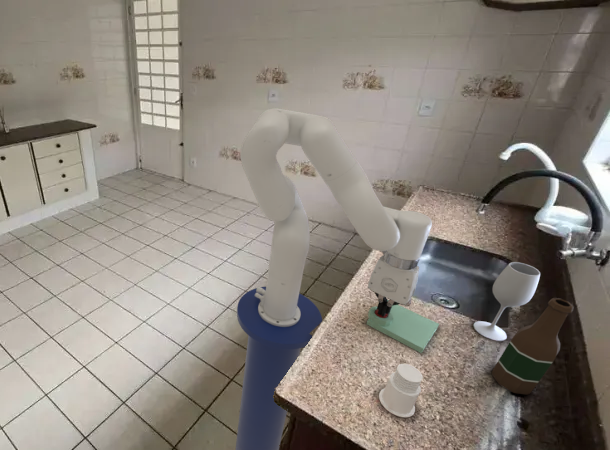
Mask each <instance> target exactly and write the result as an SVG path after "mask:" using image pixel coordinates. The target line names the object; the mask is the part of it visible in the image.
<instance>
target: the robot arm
mask: <svg viewBox="0 0 610 450" xmlns="http://www.w3.org/2000/svg"><path fill="white" fill-rule="evenodd" d="M285 144H287V145H292V146H298V147H301V150H302V152H303V153H304V154H305V156H306V158H307V159H308V161H309V162H310V163H311V165H312V166H313V168H314V169H315V170H316V172H317V173H318V175H319V176H320V177H321V179H322V180H323V182H324V183H325V185H326V186H327V187H328V189H329V190H330V192H331V194H332V196H333V198H334V199H335V200H336V202H337V203H338V205H339V206H340V208H341V209H342V211H343V212H344V214H345V216H346V217H347V219H348V220H349V222H350V223H351V225H352V227H353V228H354V229H355V231H356V233H357V234H358V235H359V237H360V238H361V239H362V241H363V242H364V243H365V245H367V246H368V247H369V248H371V249H372V250H374V251H378V252H381V253H382V254H383V255H381V256H380V257H379V258H378V259H377V261H376V263H375V265H374V267H373V270H372V271H371V275H370V277H369V280H368V283H367V289H368V290H370V291H371V292H373V293H374V294H375V296H376V298H377V301H378V304H377V306H378V307H377V309H378V313H377V314H378V315H381V316H382V317H384V316H385V315H386V314H389V313H390V311H391V308H392V306H394V305H400V306H403V307H410V306H411V305H412V298H413V296H414V294H415V292H416V288H417V284H418V281H419V274H420V267H419V266H418V265H419V261H420V259H421V256H422V254H423V251H424V248H425V246H426V243H427V240H428V237H429V235H430V232H431V230H432V226H433V219H432V218H431V217H430V216H428V215H427V214H425V213H423V212H419V211H416V210H415V211H414V210H400V209H395V208H391V207H387V206H384V205H383V204H382V202H381V200H380V199H379V198H378V196H377V193H376V192H375V190H374V187H373V186H372V183H371V180H370V179H369V177H368V174H367V173H366V171H365V169H364V168H363V167H362V165H361V164H360V162H359V161H358V160H357V158H356V156H355V155H354V154H353V152H352V150H351V149H350V148H349V146H348V145H347V143H346V142H345V140H344V139H343V136H342V135H341V134H340V132H339V131H338V129H337V127H336V125H335V123H334V121H333V120H332V119H331V118H329V117H328V116H327V117H326V116H324V115H319V114H315V113H309V112H302V111H296V110H291V109H285V108H277V107H272V108H268V109H265V110H264V111H262V112H261V113H260V114H259V116H258V117H257V119H256V120H255V122H254V124H253V125H252V127H251V129H250V130H249V131H248V133H247V134H246V136H245V137H244V140H243V141H242V143H241V148H240V154H239V155H240V156H239V157H240V162H241V167H242V169H243V171H244V173H245V177H246V178H247V181H248V183H249V186H250V188H251V190H252V193H253V195H254V198H255V199H256V202H257V204H258V207H259V209H260V211H261V214H262V215H263V216H264V217H266V219H268V220H270V221H272V222H273V223H274V224H273V231H272V238H271V247H270V255H269V260H268V261H269V262H268V271H267V278H266V286H265V287H266V291H265V290H264V289H263V288H261V287H262V286H257V287H256V288H257V289H256V292H258V293H256V294H255V297H257V298H259V299H260V300H261V302H260V303H259V306H258V312H259V315H260V316H261V318H262V319H263V320H265V321H266V322H268V323H270V324H272V325H275V326H279V327H289V326H292V325H295V324H296V323H297V322H298V321H299V319H300V315H301V313H300V309H299V308H298V306H297V302H298V297H299V293H300V291H301V286H302V281H303V277H304V270H305V265H306V261H307V257H308V254H309V250H310V245H311V233H310V232H311V230H310V222H309V217H308V214H307V211H306V208H305V206H304V204H303V201H302V199H301V197H300V194H299V191H298V189H297V187H296V185H295V183H294V181H293V179H292V178H291V177H289V176H287V175H285V174H283V171H282V168H281V166H280V163H279V162H278V159H277V154H278V152H279V151H280V150H281V148H282V147H283V146H284V145H285ZM260 294H262V295H263V296H262V295H260Z"/></svg>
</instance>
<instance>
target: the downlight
mask: <svg viewBox="0 0 610 450" xmlns="http://www.w3.org/2000/svg"><path fill="white" fill-rule="evenodd" d="M422 374H423V373H422V372H421V371H420V370H419V369H418V368H417V367H415V366H414V365H412V364H409V363H400V364H398V365H397V366H396V370H395V371H394V372H392V373H391V374H390V375H389V378H388V380H387V381H386V384H385V387H384V388H382V389H381V390H380V391H379V393H378V399H379V402H380V404H381V405H382V407H384V409H385V410H387V411H388V412H389V413H390V414H392V415H394V416H397V417H399V418H411V417H413V416H414V414H415V413H416V406H415V404H416V402H417V400H418V398H419V396H420V394H421V391H422V387H421V382H422V381H423V375H422Z"/></svg>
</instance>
